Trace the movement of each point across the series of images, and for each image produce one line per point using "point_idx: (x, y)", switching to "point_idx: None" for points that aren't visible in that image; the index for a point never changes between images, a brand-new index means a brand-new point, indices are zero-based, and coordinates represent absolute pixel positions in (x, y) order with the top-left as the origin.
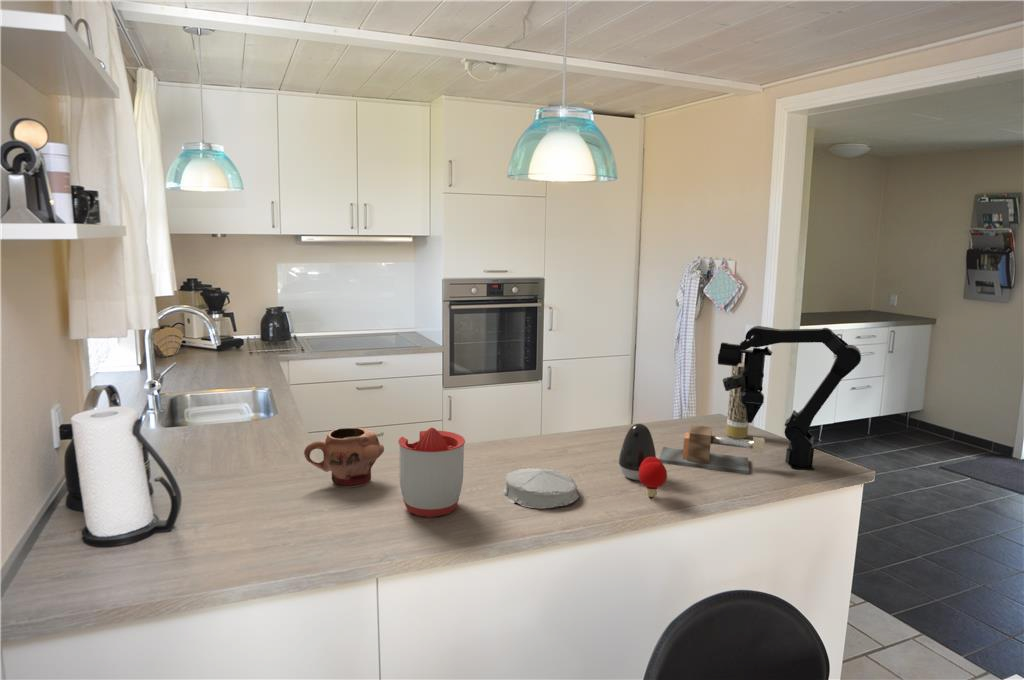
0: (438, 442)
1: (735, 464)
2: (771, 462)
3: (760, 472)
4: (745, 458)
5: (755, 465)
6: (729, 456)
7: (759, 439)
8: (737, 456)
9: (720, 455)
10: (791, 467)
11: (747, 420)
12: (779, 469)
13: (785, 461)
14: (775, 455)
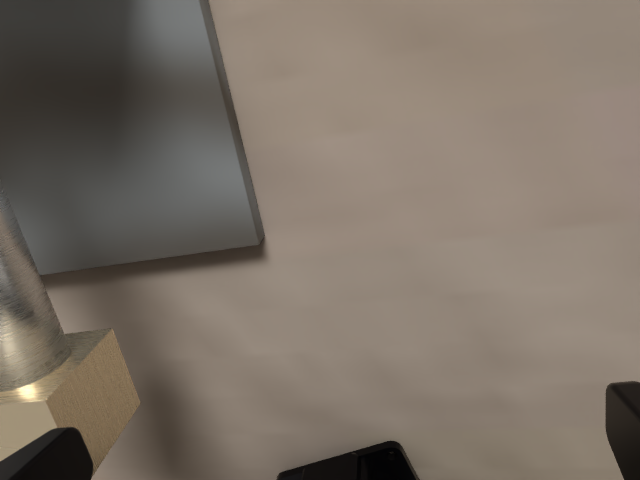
0: None
1: (42, 186)
2: (331, 371)
3: (92, 328)
4: (226, 230)
5: (202, 290)
6: (194, 110)
7: (6, 455)
8: (236, 169)
9: (168, 33)
10: (285, 472)
11: (16, 451)
12: (223, 415)
13: (380, 445)
14: (508, 384)
